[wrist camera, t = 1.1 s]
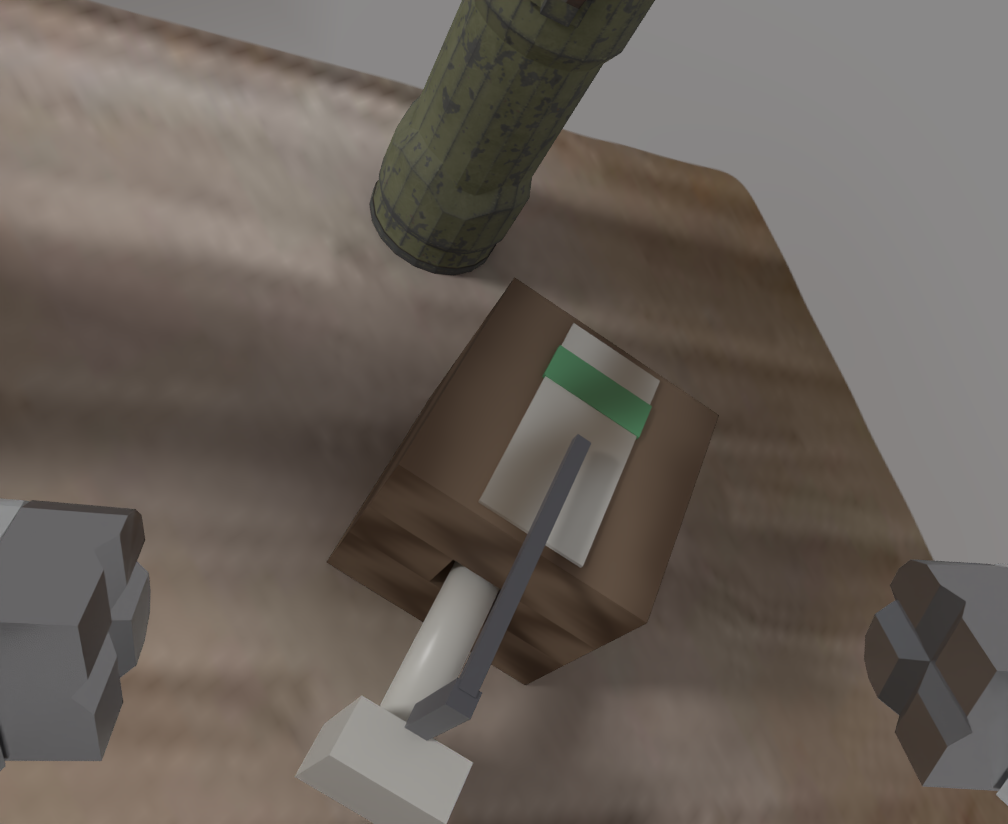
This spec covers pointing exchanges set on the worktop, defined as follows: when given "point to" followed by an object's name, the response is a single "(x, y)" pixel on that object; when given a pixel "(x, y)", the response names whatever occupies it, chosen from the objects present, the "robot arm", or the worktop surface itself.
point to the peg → (430, 691)
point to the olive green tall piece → (490, 123)
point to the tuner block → (536, 484)
